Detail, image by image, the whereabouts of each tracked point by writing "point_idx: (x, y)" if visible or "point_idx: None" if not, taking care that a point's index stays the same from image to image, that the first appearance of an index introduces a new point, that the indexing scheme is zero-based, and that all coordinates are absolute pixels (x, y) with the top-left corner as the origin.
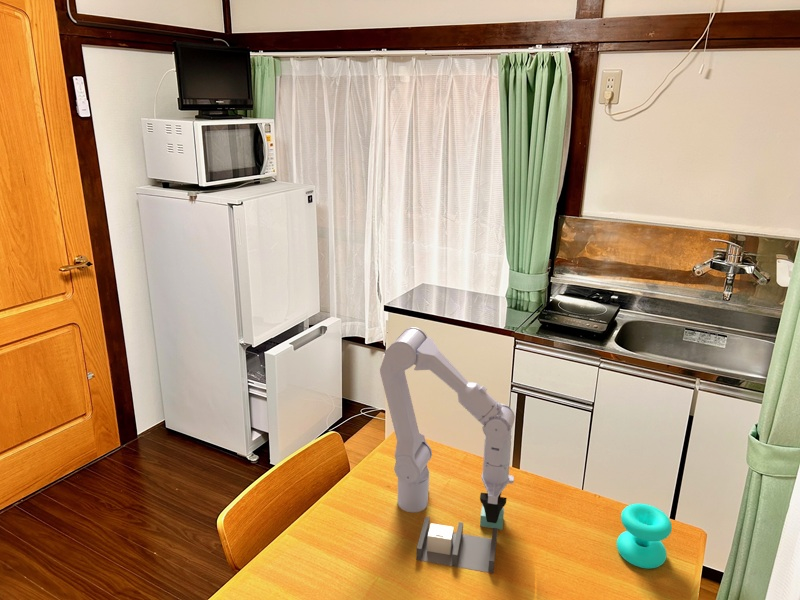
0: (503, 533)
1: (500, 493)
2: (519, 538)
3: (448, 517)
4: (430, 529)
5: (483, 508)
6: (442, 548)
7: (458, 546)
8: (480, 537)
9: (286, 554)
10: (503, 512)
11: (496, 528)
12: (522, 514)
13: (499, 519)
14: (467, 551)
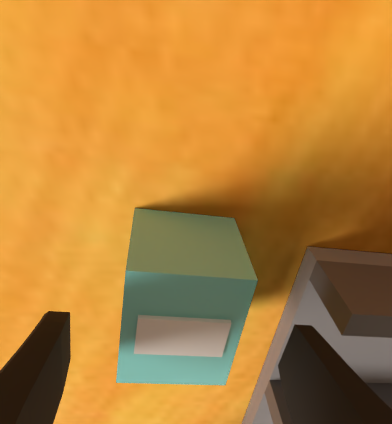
0: (235, 210)
1: (45, 371)
2: (277, 125)
3: (145, 407)
4: None
5: (157, 376)
6: None
7: None
8: (296, 323)
9: None
10: (184, 276)
11: (351, 318)
12: (31, 76)
13: (250, 294)
14: (373, 360)
